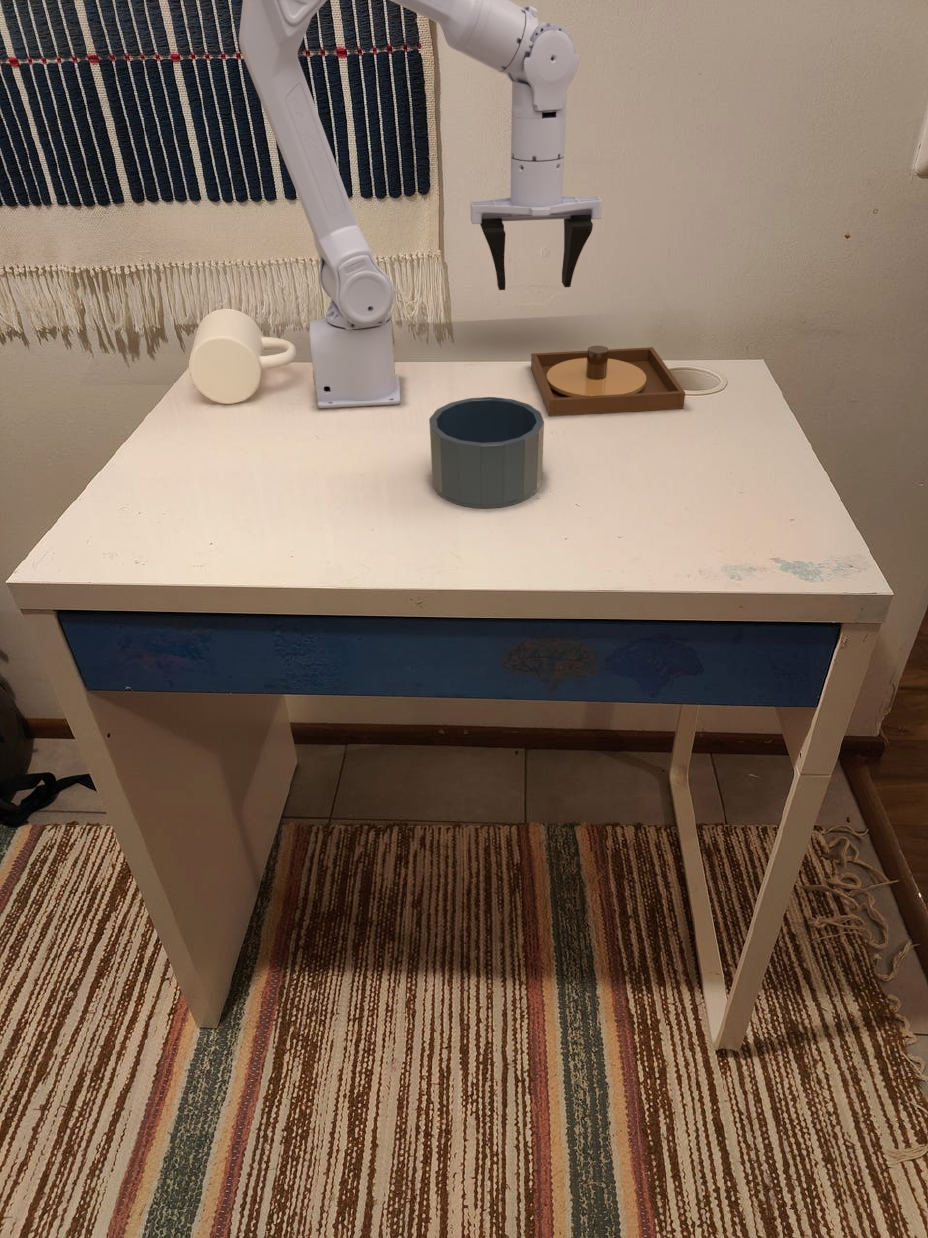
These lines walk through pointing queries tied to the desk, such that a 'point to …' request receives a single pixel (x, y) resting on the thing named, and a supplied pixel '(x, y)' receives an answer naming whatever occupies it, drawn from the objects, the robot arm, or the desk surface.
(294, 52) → the robot arm
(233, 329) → the mug
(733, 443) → the desk surface
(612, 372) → the lid
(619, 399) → the tray
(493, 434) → the blue gray round pot
